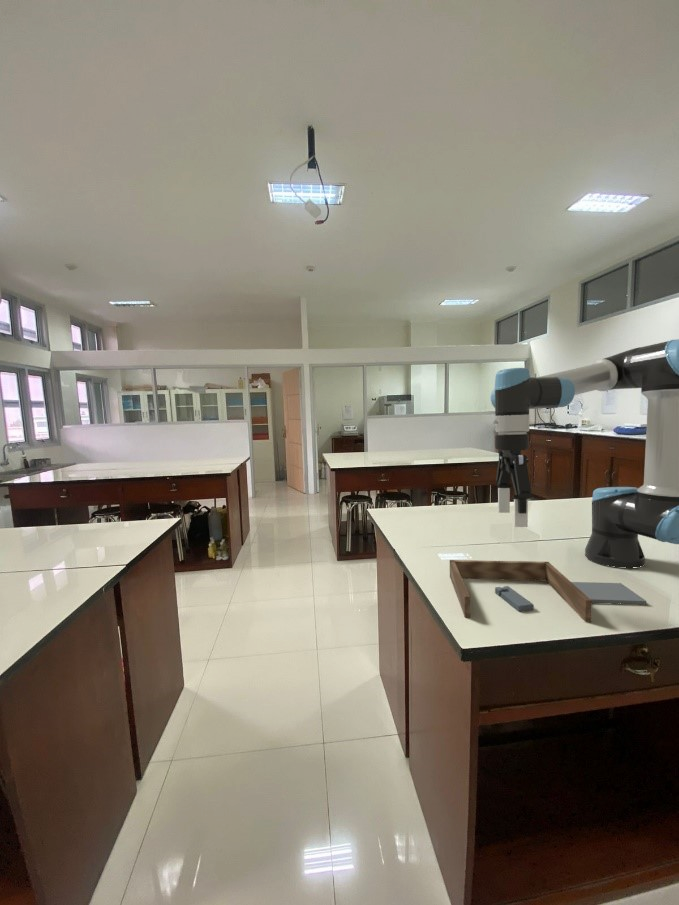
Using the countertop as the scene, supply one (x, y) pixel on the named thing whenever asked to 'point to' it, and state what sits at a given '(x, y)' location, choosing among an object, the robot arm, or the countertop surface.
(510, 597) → the bracket
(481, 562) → the u-shaped wooden frame
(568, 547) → the countertop surface
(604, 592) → the slate mat
